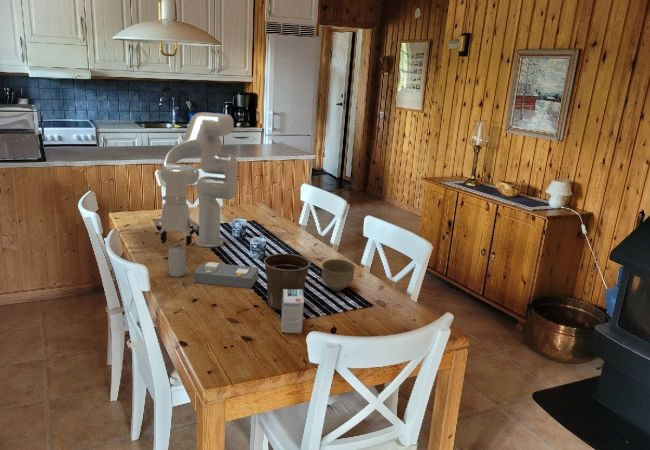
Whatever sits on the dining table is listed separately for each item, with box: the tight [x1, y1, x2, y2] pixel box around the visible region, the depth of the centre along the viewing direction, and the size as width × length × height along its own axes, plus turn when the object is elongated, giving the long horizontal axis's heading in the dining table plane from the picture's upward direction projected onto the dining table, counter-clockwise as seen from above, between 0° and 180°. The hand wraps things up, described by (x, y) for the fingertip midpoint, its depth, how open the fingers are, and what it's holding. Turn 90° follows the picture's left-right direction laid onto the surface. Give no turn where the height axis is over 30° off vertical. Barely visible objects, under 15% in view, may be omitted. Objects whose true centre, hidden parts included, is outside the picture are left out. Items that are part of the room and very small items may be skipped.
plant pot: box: [263, 253, 311, 311], centre depth 186 cm, size 16×16×16 cm
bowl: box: [321, 258, 356, 291], centre depth 202 cm, size 13×13×10 cm
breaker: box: [205, 261, 220, 271], centre depth 205 cm, size 4×4×3 cm
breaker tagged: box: [235, 268, 249, 275], centre depth 204 cm, size 4×4×3 cm
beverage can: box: [167, 243, 187, 278], centre depth 206 cm, size 6×6×12 cm
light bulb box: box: [280, 289, 305, 334], centre depth 171 cm, size 11×7×11 cm, turn 5°
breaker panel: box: [193, 261, 259, 289], centre depth 205 cm, size 12×22×5 cm, turn 84°
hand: (176, 243), depth 203 cm, fingers open, 9 cm apart
